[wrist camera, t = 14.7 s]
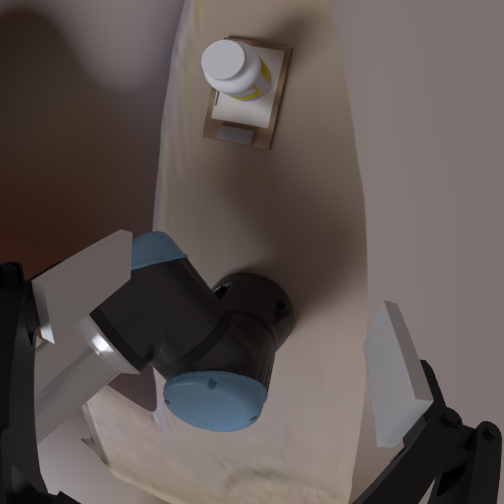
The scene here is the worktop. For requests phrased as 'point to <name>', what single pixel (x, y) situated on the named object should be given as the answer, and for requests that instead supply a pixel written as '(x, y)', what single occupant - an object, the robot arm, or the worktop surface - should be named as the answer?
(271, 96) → the clipboard
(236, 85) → the supplement bottle
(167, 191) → the worktop surface
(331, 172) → the worktop surface
